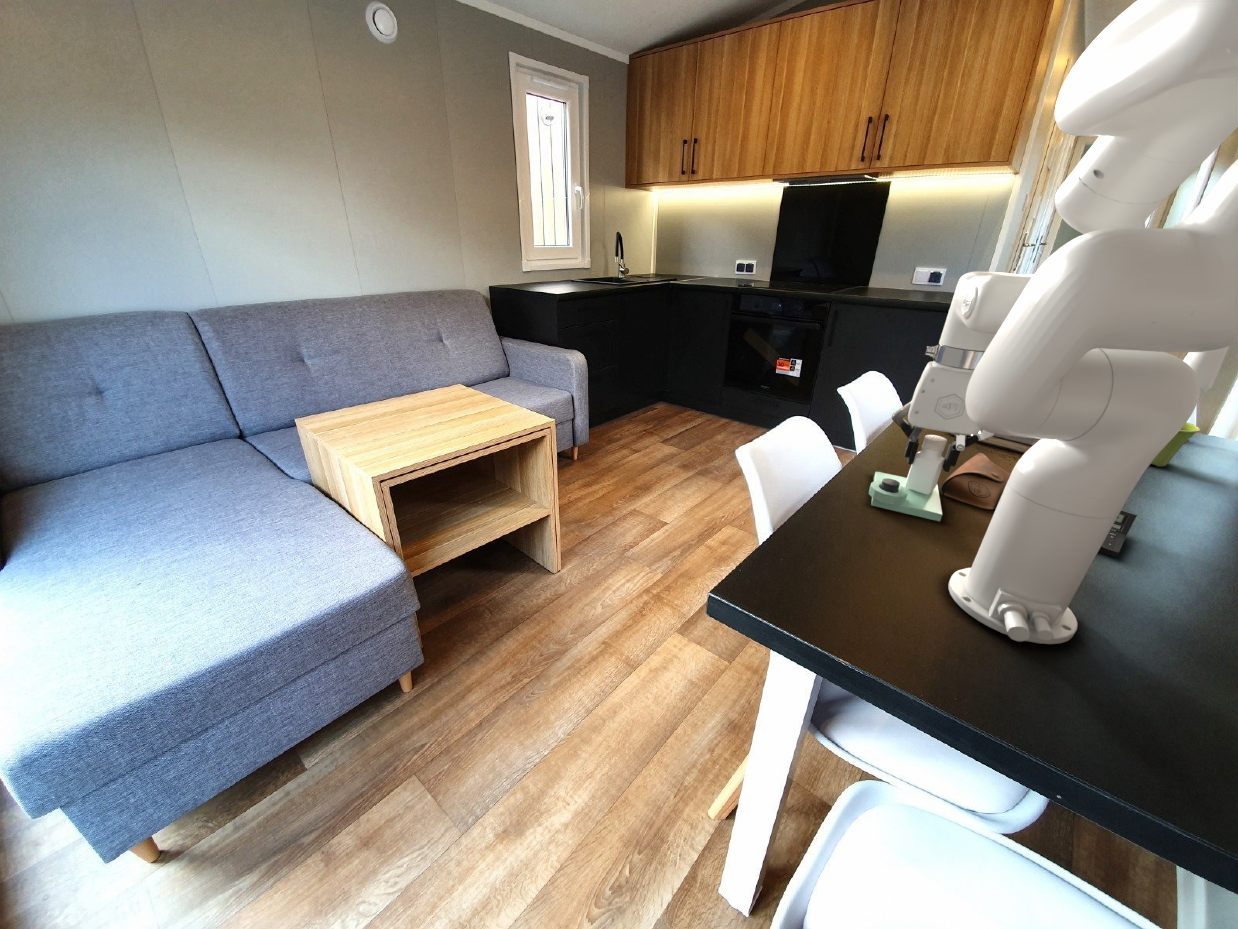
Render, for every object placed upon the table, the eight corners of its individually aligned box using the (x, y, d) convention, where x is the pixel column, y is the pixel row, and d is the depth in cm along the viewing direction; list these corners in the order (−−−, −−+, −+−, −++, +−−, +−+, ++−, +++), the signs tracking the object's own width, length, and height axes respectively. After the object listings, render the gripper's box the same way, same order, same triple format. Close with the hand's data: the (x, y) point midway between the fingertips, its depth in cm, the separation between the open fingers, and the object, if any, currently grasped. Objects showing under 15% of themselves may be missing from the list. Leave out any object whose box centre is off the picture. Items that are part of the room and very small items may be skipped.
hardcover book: (949, 434, 114) (952, 425, 113) (975, 413, 128) (978, 405, 127) (1034, 456, 103) (1038, 446, 102) (1052, 431, 118) (1056, 422, 117)
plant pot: (1187, 467, 101) (1210, 427, 97) (1162, 473, 98) (1185, 433, 94) (1131, 449, 109) (1150, 412, 105) (1106, 455, 105) (1125, 417, 102)
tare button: (897, 495, 80) (900, 486, 79) (879, 491, 81) (882, 483, 80) (897, 488, 82) (900, 480, 81) (880, 485, 83) (882, 476, 82)
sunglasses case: (996, 510, 80) (984, 472, 80) (948, 514, 86) (937, 479, 86) (1020, 479, 92) (1010, 445, 91) (976, 484, 97) (966, 453, 97)
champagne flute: (1137, 432, 119) (1189, 332, 109) (1150, 429, 122) (1202, 330, 111) (1174, 442, 114) (1233, 338, 103) (1187, 438, 116) (1246, 336, 106)
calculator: (1036, 529, 77) (1043, 512, 75) (1053, 506, 83) (1061, 491, 82) (1115, 557, 70) (1125, 540, 69) (1128, 530, 77) (1137, 514, 76)
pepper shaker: (903, 488, 85) (919, 437, 81) (910, 481, 87) (926, 431, 83) (928, 496, 82) (946, 444, 78) (935, 489, 85) (953, 438, 81)
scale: (940, 524, 77) (946, 507, 76) (865, 506, 81) (870, 490, 80) (935, 491, 87) (940, 476, 86) (869, 476, 92) (873, 462, 90)
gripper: (901, 355, 75) (871, 462, 83) (1036, 371, 69) (990, 486, 76) (901, 346, 81) (873, 447, 89) (1025, 361, 75) (983, 468, 82)
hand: (927, 464), depth 83 cm, fingers closed on pepper shaker, 4 cm apart
